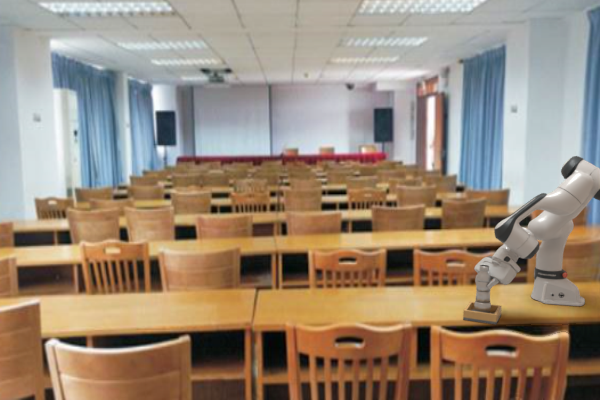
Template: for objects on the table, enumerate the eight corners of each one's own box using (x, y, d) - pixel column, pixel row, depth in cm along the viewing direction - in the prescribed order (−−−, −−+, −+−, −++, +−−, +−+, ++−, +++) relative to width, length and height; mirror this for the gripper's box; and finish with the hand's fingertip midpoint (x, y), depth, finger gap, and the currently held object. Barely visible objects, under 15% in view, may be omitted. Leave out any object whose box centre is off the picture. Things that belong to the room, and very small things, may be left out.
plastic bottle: (491, 315, 226) (494, 268, 224) (474, 314, 227) (477, 267, 225) (489, 310, 232) (492, 264, 230) (472, 309, 234) (475, 263, 231)
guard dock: (501, 314, 233) (501, 305, 233) (496, 324, 222) (496, 314, 221) (469, 310, 239) (469, 301, 239) (463, 319, 228) (463, 310, 227)
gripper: (483, 250, 239) (463, 274, 237) (514, 260, 220) (493, 286, 218) (492, 259, 241) (472, 283, 239) (523, 270, 221) (502, 296, 220)
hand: (482, 285), depth 228 cm, fingers closed on plastic bottle, 6 cm apart
